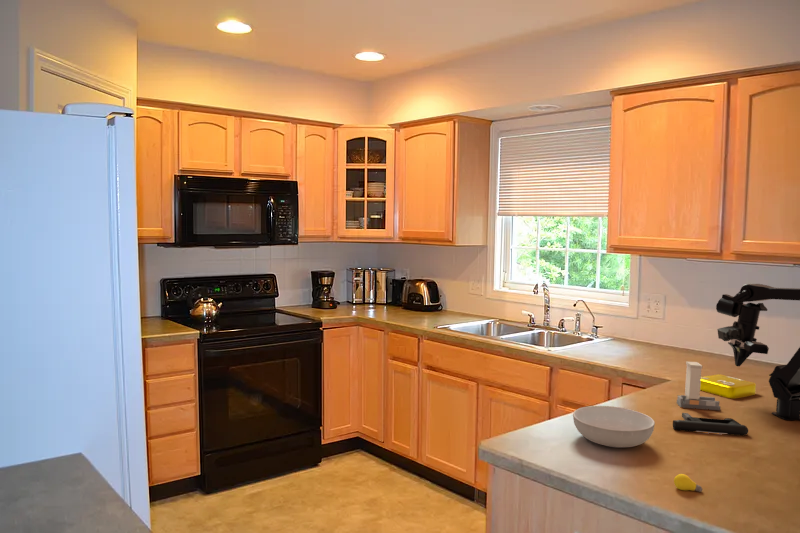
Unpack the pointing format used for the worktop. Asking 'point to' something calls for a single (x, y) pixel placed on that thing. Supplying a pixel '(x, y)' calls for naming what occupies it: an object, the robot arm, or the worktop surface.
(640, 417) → the serving bowl
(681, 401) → the switch base
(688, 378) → the tall lidded box
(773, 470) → the worktop surface
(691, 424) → the door handle
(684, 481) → the light bulb
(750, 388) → the element tile
